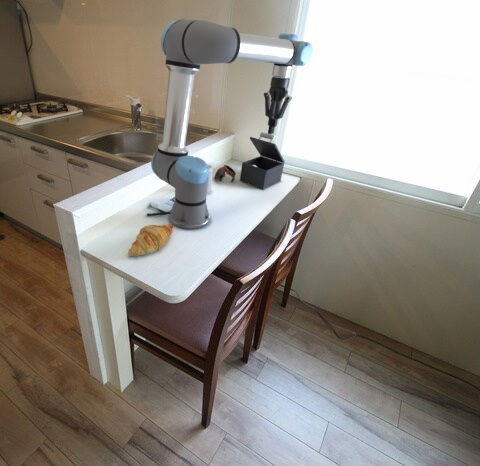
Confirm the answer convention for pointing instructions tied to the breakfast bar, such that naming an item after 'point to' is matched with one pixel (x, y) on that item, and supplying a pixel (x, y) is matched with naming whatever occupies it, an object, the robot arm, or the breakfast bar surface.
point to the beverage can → (209, 178)
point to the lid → (267, 147)
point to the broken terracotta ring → (223, 171)
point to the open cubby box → (261, 172)
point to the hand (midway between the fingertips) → (270, 133)
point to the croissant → (150, 239)
